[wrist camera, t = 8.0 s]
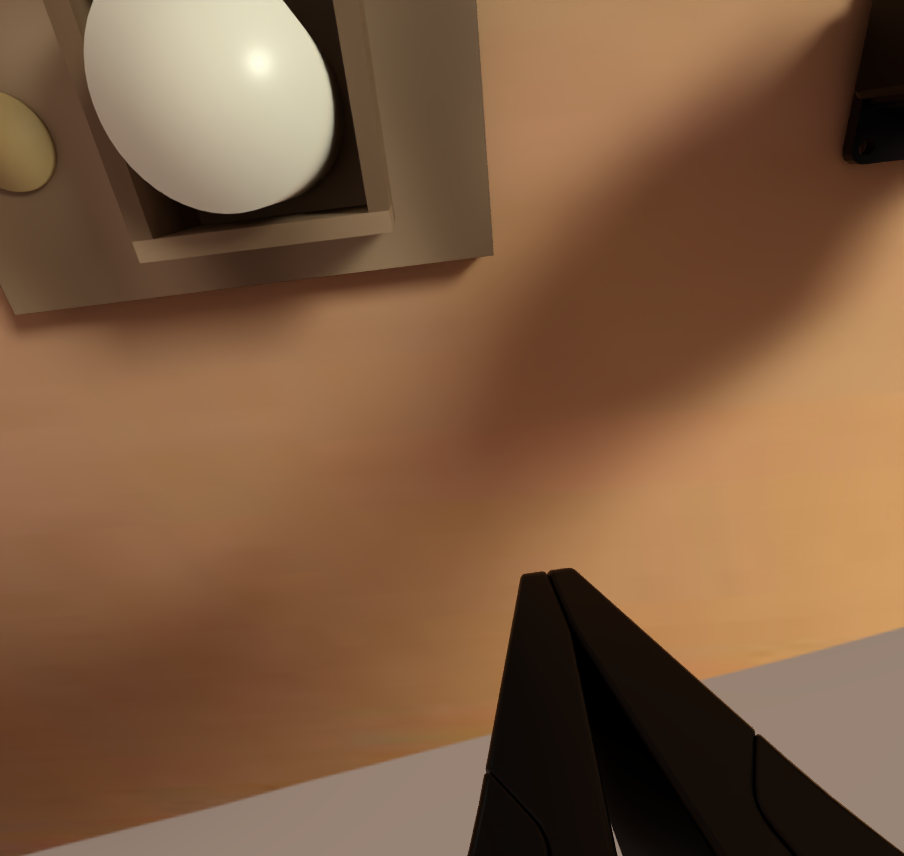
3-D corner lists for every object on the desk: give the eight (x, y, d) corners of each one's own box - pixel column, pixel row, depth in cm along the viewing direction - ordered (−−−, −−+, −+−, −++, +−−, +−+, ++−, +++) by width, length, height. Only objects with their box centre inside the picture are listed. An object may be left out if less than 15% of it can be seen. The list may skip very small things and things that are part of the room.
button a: (324, -5, 13) (291, -71, 9) (358, 191, 15) (342, 200, 11) (143, 15, 13) (39, -42, 9) (202, 210, 15) (137, 225, 11)
